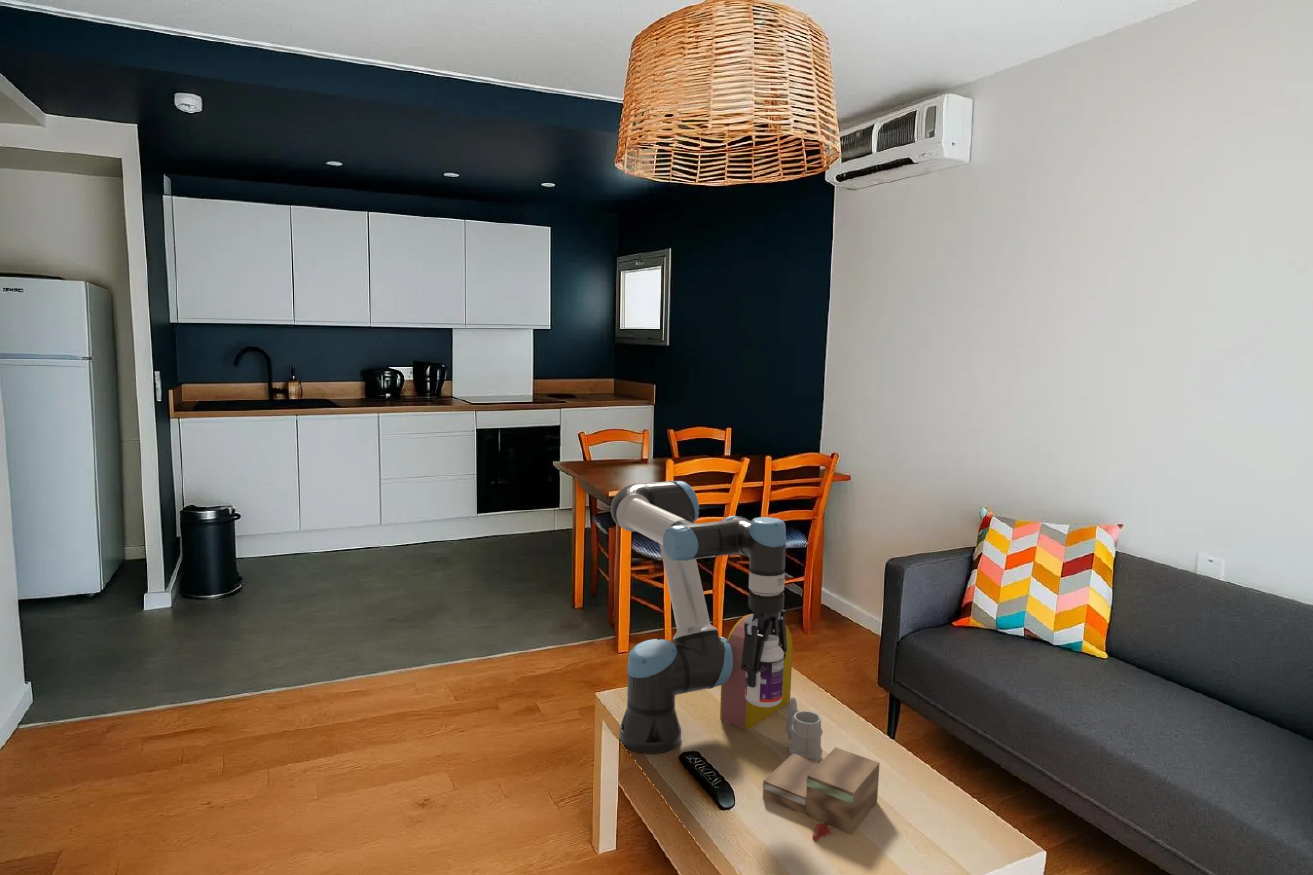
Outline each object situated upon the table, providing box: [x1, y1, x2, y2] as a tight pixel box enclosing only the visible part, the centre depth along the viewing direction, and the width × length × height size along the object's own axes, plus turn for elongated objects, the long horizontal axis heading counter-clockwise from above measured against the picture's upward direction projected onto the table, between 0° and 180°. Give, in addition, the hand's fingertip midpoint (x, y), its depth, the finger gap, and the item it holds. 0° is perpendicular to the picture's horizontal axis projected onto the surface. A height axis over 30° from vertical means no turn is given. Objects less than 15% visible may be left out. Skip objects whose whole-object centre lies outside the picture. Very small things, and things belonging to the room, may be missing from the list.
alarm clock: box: [719, 613, 793, 730], centre depth 206 cm, size 21×9×26 cm, turn 140°
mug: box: [784, 696, 824, 763], centre depth 186 cm, size 8×12×12 cm, turn 26°
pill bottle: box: [745, 634, 784, 707], centre depth 168 cm, size 8×8×14 cm
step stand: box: [762, 746, 880, 842], centre depth 165 cm, size 20×20×9 cm
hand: (763, 692), depth 169 cm, fingers closed on pill bottle, 8 cm apart
